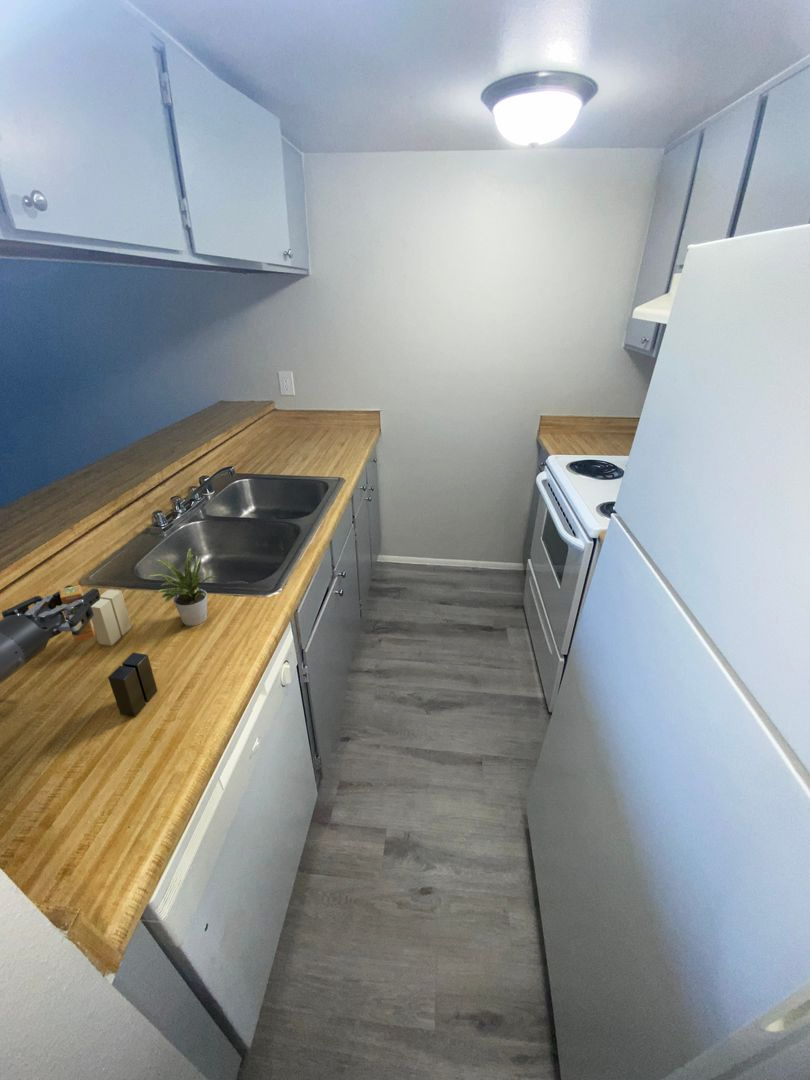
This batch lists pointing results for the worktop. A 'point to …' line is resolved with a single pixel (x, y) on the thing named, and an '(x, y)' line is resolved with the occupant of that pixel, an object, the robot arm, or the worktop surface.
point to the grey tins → (133, 684)
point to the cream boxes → (110, 617)
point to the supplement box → (71, 596)
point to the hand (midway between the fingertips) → (84, 591)
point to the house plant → (186, 592)
